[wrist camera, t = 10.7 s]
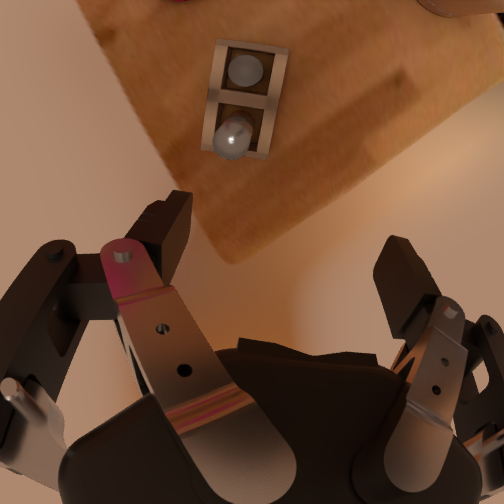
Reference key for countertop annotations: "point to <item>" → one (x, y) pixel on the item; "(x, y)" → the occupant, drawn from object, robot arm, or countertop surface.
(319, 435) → the robot arm
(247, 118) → the pin
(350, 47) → the countertop surface
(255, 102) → the wooden divided tray
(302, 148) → the countertop surface
